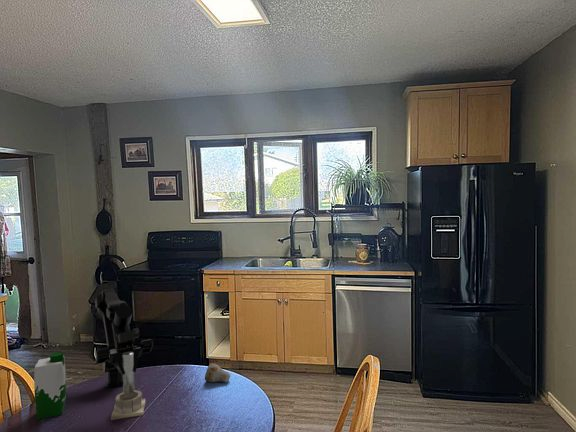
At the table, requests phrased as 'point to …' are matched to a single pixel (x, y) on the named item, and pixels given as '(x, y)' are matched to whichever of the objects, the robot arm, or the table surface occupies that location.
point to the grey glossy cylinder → (128, 372)
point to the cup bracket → (128, 405)
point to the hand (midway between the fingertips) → (129, 373)
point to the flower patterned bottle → (216, 374)
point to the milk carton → (50, 386)
